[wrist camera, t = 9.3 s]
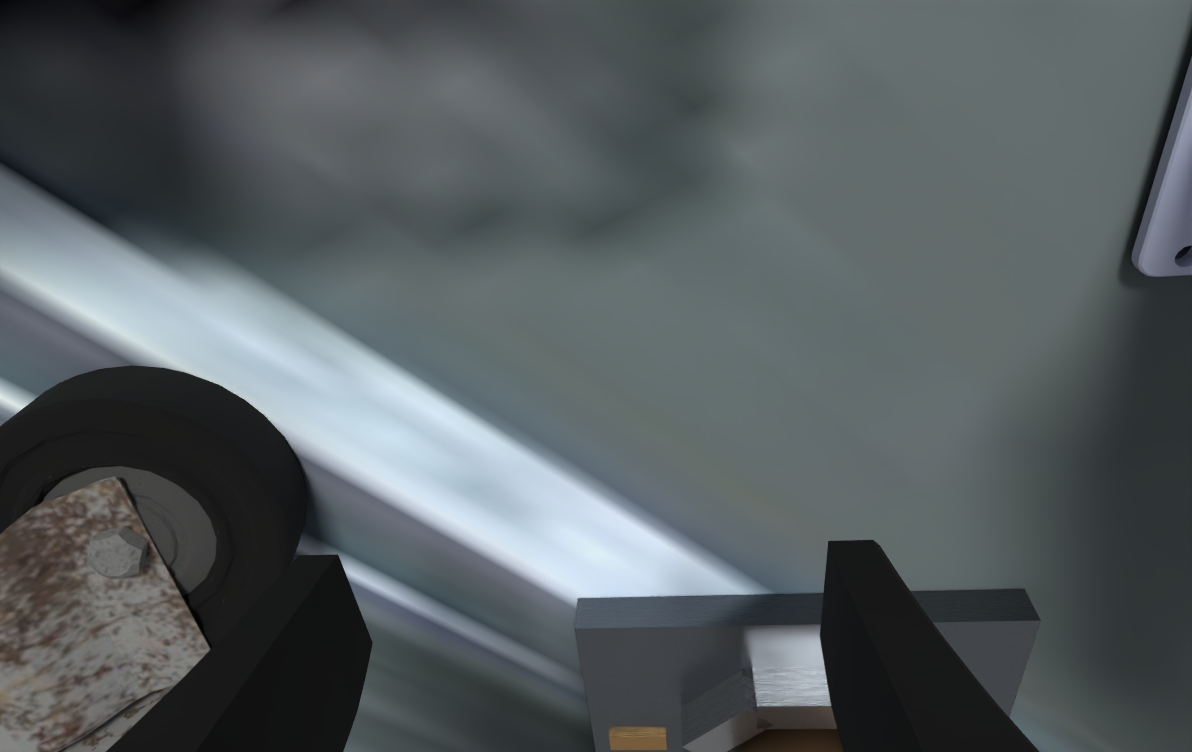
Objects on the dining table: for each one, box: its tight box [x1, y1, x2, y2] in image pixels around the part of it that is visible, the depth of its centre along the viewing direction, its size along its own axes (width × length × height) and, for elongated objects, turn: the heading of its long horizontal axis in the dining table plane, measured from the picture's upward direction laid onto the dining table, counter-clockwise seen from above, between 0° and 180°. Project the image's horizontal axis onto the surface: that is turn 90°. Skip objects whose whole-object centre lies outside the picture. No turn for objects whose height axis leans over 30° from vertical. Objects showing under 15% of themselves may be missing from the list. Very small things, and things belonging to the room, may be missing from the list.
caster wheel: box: [0, 366, 307, 752], centre depth 22 cm, size 7×11×10 cm
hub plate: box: [575, 589, 1041, 752], centre depth 27 cm, size 14×12×3 cm
